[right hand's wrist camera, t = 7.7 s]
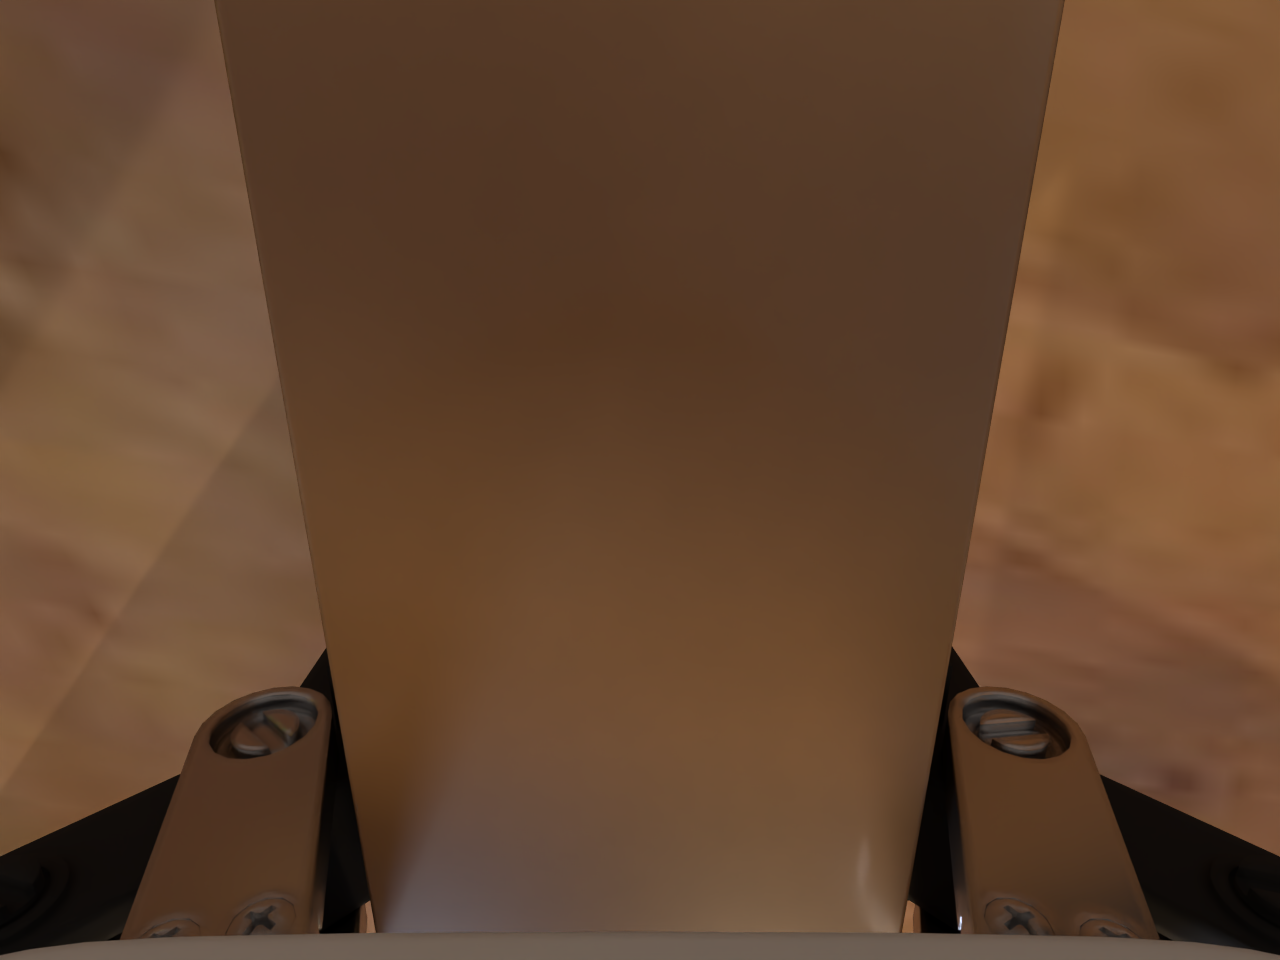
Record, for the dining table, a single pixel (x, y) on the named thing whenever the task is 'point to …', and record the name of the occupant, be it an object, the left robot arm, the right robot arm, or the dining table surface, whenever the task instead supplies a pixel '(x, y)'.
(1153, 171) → the dining table surface
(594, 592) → the post
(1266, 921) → the right robot arm
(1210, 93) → the dining table surface
